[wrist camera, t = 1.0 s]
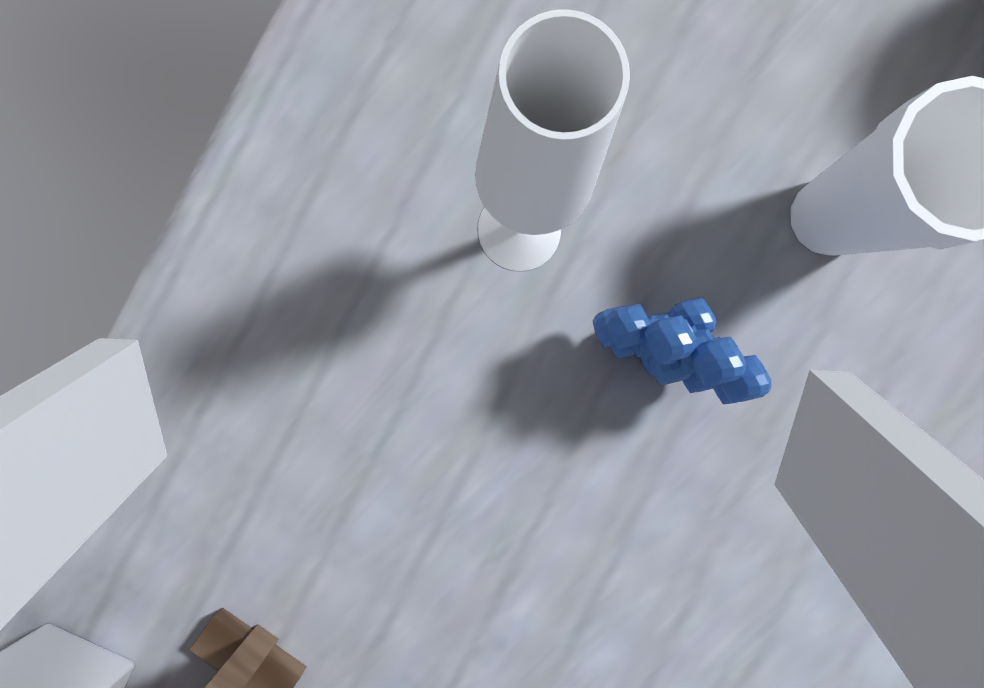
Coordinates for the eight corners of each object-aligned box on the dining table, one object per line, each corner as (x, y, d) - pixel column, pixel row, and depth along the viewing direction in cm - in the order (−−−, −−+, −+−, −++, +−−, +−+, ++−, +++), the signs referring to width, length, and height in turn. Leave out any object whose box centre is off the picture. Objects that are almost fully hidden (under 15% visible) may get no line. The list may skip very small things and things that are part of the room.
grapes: (738, 338, 44) (835, 332, 32) (701, 414, 44) (784, 436, 32) (608, 272, 44) (656, 241, 32) (571, 348, 43) (604, 345, 31)
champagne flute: (553, 181, 44) (638, -33, 20) (568, 263, 44) (673, 149, 20) (470, 195, 44) (455, -1, 20) (485, 278, 43) (489, 181, 19)
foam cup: (819, 297, 44) (960, 273, 31) (747, 207, 44) (858, 145, 31) (909, 225, 44) (1087, 171, 31) (838, 136, 44) (986, 44, 31)
